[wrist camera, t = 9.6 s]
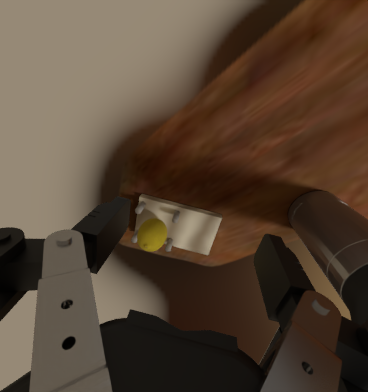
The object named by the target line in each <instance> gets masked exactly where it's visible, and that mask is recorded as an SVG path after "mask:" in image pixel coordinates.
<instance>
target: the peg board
mask: <svg viewBox="0 0 368 392" xmlns="http://www.w3.org/2000/svg"><path fill="white" fill-rule="evenodd" d="M135 212H136V213H137V219H136V226H135V233H134V235H133V237H132V239H131V241H132V242H133V243H136V242H137V234H138V230H139V228H140V226H141V225H142V224H143V223H144V222H145V221H146V220H148V219H151V218H157V219H160V220H161V221H163V222H164V224H165V225H166V227H167V238H166V240H165V242H164V244H166V247H165V250H166V251H167V252H169V251H171V247H172V246H175V247H178V248H182V249H186V250H190V251H194V252H197V253H201V254H205V255H208V254H209V251H210V249H211V246H212V243H213V241H214V238H215V235H216V233H217V230H218V227H219V225H220V222H221V219H222V214H218V213H214V212H210V211H206V210H203V209H199V208H195V207H191V206H187V205H183V204H179V203H176V202H172V201H168V200H164V199H160V198H156V197H152V196H149V195H145V194H141V196H140V197H139V204H138V206H137V208H136V209H135Z"/></svg>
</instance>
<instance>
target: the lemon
mask: <svg viewBox="0 0 368 392" xmlns="http://www.w3.org/2000/svg"><path fill="white" fill-rule="evenodd" d="M166 238H167V227H166V225H165V224H164V222H163V221H161V220H160V219H157V218H151V219H148V220H146V221H145V222H144V223H143V224H142V225H141V226H140V228H139V230H138V234H137V241H138V244H139V246H140V247H141V248H142V249H143V250H145V251H156V250H158V249H159V248H160V247H161V246H162V245H163V244H164V242H165V240H166Z"/></svg>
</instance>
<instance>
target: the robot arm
mask: <svg viewBox="0 0 368 392" xmlns="http://www.w3.org/2000/svg"><path fill="white" fill-rule="evenodd" d="M130 205H131V201H130V199H126V198H122V197H116V198H115V199H114V200H113V201H112V202H111V203H107V202H106V203H103V204H101V205H98V206H97V207H96V208H95V209H94V210H93V211H92V212H90V213H89V214H88V216H86V217H84V218H83V219H82V220H81V221H80V222H79V223H78V224H76V225H75V226H74V227H73V228H72V229H71V230H61V231H57V232H54V233H52V234H51V235H49V236H48V237H47V238H46V239H25V236H24V232H23V231H22V230H20V229H18V228H0V321H1V320H2V319H3V318H4V317H5V316H6V314H7V313H8V312H9V311H10V310H11V309H12V308H13V307H14V305H16V303H17V302H18V301H19V300H20V299H21V298H22V297H23V296H24V294H26V292H27V291H29V290H38V292H37V304H36V317H35V328H34V341H33V353H32V366H31V371H29V372H28V373H26V374H25V375H23V376H22V377H21V378H19V379H18V380H16V381H15V382H13V383H12V384H10V385H9V386H7V387H6V388H4V389H3V390H1V391H0V392H368V219H366V218H365V217H364V216H362V215H361V214H359V213H358V212H357V211H355V210H354V209H353V208H351V207H350V206H348V205H347V204H346V203H344V202H343V201H342V200H340V199H339V198H337V197H336V196H335V195H333V194H331V193H329V192H326V191H312V192H309V193H306V194H304V195H302V196H300V197H299V198H297V199H296V200H295V201H294V202H293V204H292V205H291V206H290V209H289V211H288V220H289V222H290V224H291V226H292V227H293V229H294V230H295V231H296V233H297V234H298V236H299V238H300V239H301V240H302V242H303V243H304V245H305V246H306V248H307V249H308V251H309V252H310V254H311V255H312V256H313V258H314V259H315V261H316V262H317V264H318V265H319V267H320V268H321V269H322V271H323V273H324V274H325V275H326V277H327V278H328V280H329V281H330V283H331V284H332V286H333V287H334V289H335V290H336V291H337V293H338V294H339V296H340V297H341V299H342V300H343V302H344V303H345V305H346V306H347V308H348V309H349V311H350V315H351V320H348V319H347V318H345V317H343V316H341V314H340V311H339V310H338V308H337V307H336V306H335V305H334V303H333V302H331V301H330V300H329V299H328V298H326V297H325V296H323V295H322V294H320V293H318V292H316V291H315V289H314V287H313V286H312V284H311V282H310V280H309V278H308V276H307V275H306V273H305V272H304V270H303V268H302V266H301V264H300V262H299V260H298V259H297V257H296V255H295V254H294V253H293V252H292V251H291V250H290V249H289V248H287V247H286V246H285V244H284V242H283V240H282V238H281V237H279V236H275V235H271V234H265V235H264V237H263V239H262V241H261V243H260V245H259V247H258V249H257V251H256V253H255V256H254V266H255V269H256V273H257V277H258V281H259V284H260V288H261V292H262V296H263V300H264V303H265V307H266V311H267V315H268V318H269V320H273V321H277V322H279V324H280V327H279V328H278V330H277V332H276V333H275V335H274V337H273V339H272V341H271V343H270V345H269V347H268V349H267V350H266V352H265V354H264V356H263V358H262V360H261V362H260V364H259V365H258V364H257V363H256V362H255V361H254V360H253V359H252V358H251V357H250V356H248V355H247V354H246V353H245V352H243V351H242V350H240V349H239V348H238V346H237V338H236V337H234V336H230V335H226V334H222V333H219V332H215V331H211V330H207V331H206V330H204V331H203V330H201V331H182V330H180V329H178V328H176V327H174V326H173V325H171V324H169V323H167V322H166V321H164V320H162V319H160V318H159V317H157V316H153V315H150V314H146V313H143V312H139V311H135V310H130V312H129V314H128V317H127V318H121V319H115V320H111V321H108V322H105V323H103V324H100V325H99V320H98V315H97V309H96V303H95V297H94V291H93V285H92V280H91V274H90V272H91V273H95V274H97V273H98V271H99V270H100V268H101V267H102V265H103V264H104V262H105V261H106V260H107V258H108V257H109V255H110V254H111V252H112V251H113V249H114V248H115V246H116V245H117V243H118V242H119V241H120V239H121V238H122V236H123V235H124V233H125V232H126V230H127V227H128V224H129V216H130Z"/></svg>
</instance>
